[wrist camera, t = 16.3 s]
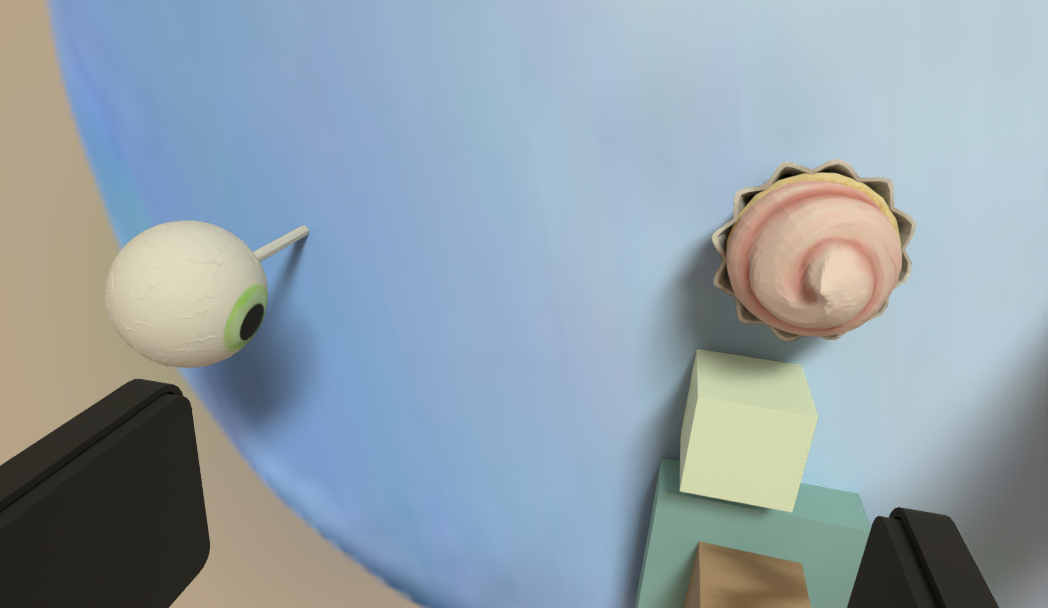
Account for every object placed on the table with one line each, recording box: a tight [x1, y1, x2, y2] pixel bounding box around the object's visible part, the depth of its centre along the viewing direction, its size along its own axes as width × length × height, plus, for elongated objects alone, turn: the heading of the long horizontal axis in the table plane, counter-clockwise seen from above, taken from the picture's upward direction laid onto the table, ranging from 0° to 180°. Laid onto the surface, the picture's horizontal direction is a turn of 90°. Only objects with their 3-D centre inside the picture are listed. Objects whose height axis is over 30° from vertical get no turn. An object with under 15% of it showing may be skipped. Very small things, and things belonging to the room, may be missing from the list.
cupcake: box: [712, 159, 916, 341], centre depth 34 cm, size 9×9×10 cm
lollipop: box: [105, 221, 309, 368], centre depth 38 cm, size 7×7×15 cm
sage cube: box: [680, 349, 818, 512], centre depth 41 cm, size 6×6×6 cm
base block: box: [635, 458, 871, 608], centre depth 46 cm, size 12×12×4 cm
